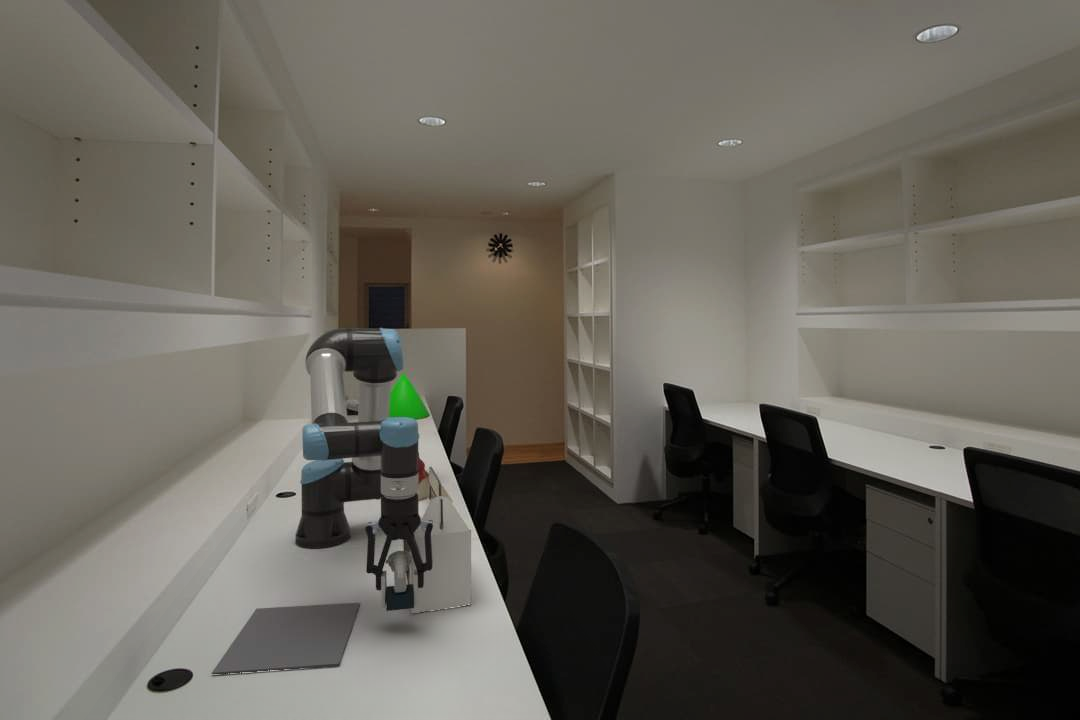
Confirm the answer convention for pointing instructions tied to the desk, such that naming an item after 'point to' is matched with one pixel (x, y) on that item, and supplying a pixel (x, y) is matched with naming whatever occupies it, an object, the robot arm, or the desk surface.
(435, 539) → the gable box
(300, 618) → the rubber mat
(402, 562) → the watch
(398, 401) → the table lamp
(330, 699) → the desk surface
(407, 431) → the robot arm
